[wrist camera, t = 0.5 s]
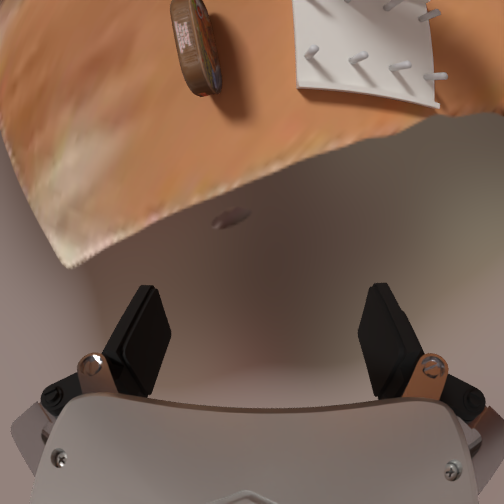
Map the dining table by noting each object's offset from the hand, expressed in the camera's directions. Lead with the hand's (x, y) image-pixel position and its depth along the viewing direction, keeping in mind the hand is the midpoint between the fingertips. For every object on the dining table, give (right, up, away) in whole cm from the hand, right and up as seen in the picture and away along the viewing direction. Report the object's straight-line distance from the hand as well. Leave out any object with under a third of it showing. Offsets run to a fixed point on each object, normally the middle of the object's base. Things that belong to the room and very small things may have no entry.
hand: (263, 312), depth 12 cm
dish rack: (+15, +32, +13) cm, 38 cm away
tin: (-7, +29, +17) cm, 34 cm away
